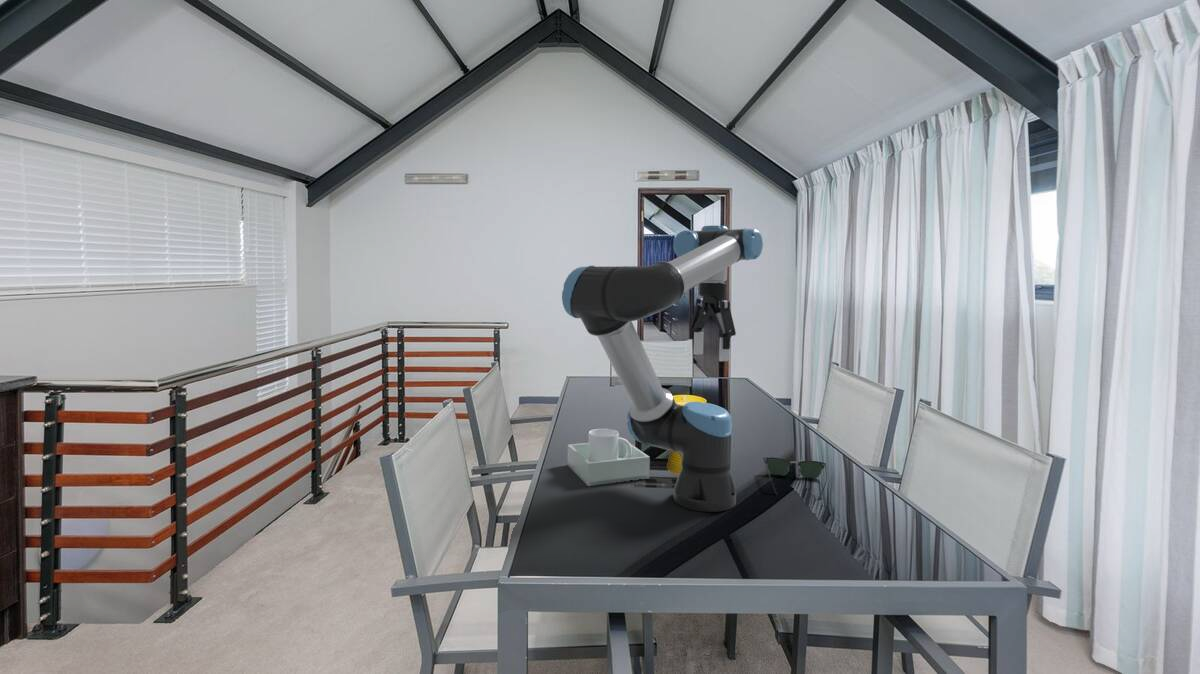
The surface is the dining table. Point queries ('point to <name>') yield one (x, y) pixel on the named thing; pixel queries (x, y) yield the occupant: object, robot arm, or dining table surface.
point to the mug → (605, 445)
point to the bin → (608, 465)
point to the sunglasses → (806, 468)
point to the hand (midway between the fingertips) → (710, 357)
